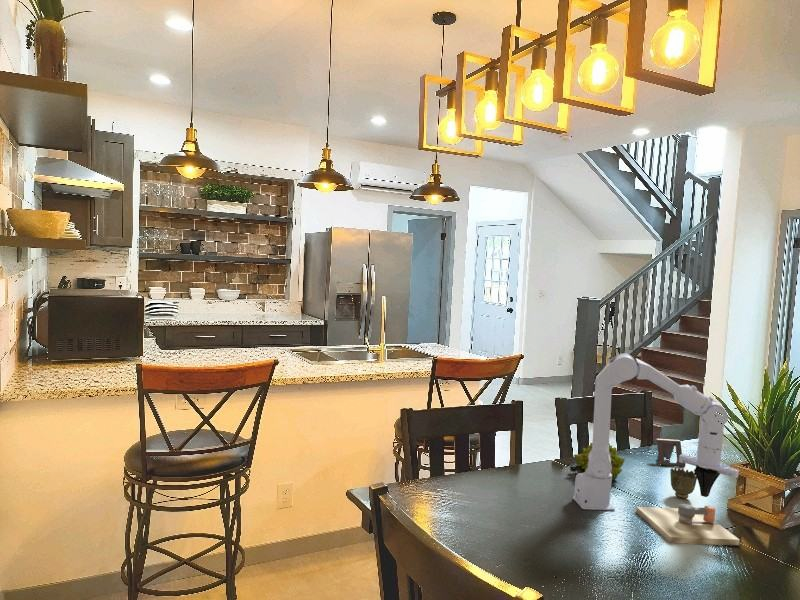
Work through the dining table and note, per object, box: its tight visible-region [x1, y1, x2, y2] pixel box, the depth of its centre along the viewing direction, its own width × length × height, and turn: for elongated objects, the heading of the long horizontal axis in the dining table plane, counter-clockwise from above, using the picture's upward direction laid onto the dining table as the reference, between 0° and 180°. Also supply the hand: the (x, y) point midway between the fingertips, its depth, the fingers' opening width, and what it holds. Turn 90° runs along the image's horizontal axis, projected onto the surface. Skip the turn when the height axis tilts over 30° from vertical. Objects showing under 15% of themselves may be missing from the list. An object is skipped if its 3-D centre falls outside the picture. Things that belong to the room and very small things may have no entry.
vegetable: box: [569, 442, 626, 481], centre depth 188 cm, size 15×16×15 cm
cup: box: [669, 467, 698, 500], centre depth 174 cm, size 8×7×8 cm
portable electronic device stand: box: [653, 438, 687, 468], centre depth 207 cm, size 9×8×8 cm
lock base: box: [636, 506, 740, 546], centre depth 153 cm, size 18×18×4 cm
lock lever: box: [677, 503, 716, 523], centre depth 153 cm, size 10×4×4 cm, turn 95°
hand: (704, 495), depth 156 cm, fingers closed
